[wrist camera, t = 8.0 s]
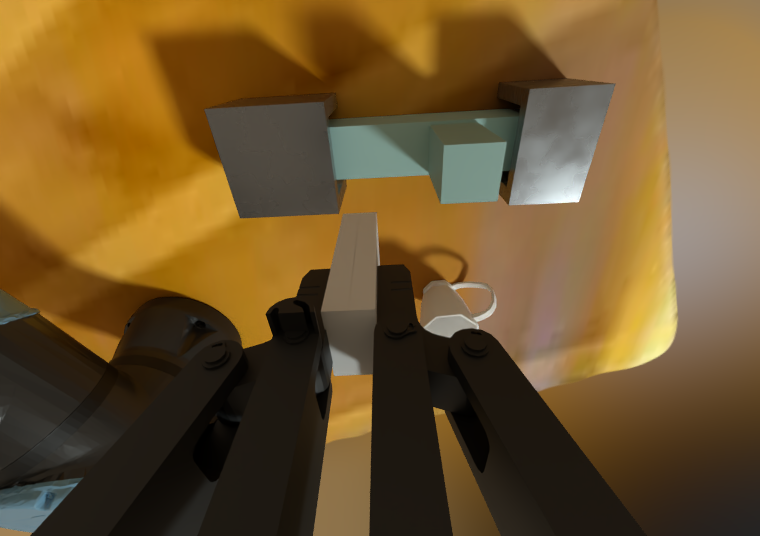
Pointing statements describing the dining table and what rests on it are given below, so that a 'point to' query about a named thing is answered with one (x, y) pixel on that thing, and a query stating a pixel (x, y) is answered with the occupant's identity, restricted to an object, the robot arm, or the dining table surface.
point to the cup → (450, 308)
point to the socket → (553, 138)
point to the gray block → (278, 154)
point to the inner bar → (430, 150)
